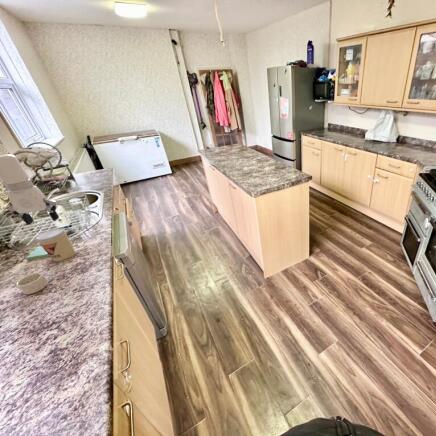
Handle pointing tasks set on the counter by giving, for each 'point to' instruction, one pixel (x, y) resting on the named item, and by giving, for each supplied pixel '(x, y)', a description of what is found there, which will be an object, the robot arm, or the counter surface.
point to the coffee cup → (56, 244)
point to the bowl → (32, 283)
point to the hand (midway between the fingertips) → (43, 221)
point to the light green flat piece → (37, 253)
